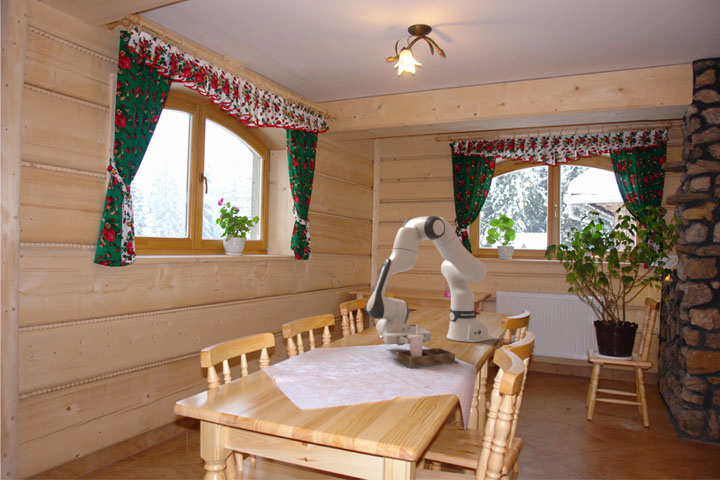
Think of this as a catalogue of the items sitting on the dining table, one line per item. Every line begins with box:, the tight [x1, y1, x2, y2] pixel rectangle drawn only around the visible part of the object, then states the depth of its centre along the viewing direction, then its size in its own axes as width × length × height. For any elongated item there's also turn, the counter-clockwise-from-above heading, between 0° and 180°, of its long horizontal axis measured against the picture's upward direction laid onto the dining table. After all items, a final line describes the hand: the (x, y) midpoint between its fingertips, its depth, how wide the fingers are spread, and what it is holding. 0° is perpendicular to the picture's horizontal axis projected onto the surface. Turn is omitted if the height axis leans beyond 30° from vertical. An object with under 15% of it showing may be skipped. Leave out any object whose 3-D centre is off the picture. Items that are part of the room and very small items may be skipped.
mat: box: [393, 357, 460, 369], centre depth 188 cm, size 22×13×1 cm, turn 114°
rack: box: [396, 347, 456, 366], centre depth 188 cm, size 20×10×3 cm, turn 114°
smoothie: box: [408, 323, 424, 357], centre depth 186 cm, size 6×6×14 cm
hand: (416, 341), depth 186 cm, fingers closed on smoothie, 6 cm apart
